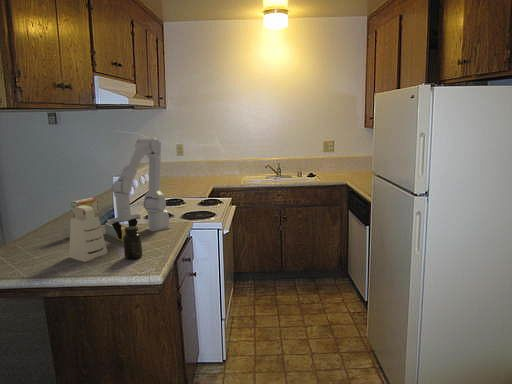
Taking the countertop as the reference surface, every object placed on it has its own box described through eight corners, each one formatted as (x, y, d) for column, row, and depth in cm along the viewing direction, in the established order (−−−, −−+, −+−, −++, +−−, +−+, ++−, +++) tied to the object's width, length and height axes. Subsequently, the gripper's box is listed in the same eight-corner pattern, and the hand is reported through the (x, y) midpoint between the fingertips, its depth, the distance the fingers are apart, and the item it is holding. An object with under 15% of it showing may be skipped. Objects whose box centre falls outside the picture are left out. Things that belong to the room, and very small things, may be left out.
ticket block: (116, 231, 205) (115, 221, 205) (127, 236, 197) (126, 225, 196) (105, 233, 202) (104, 223, 201) (116, 238, 193) (115, 227, 192)
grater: (92, 250, 180) (87, 203, 176) (108, 254, 174) (103, 205, 170) (69, 257, 171) (63, 208, 168) (84, 261, 165) (79, 211, 162)
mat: (124, 230, 209) (124, 229, 209) (150, 241, 190) (150, 240, 190) (98, 235, 200) (98, 235, 200) (122, 247, 181) (122, 247, 181)
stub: (127, 236, 196) (126, 225, 195) (133, 239, 192) (132, 227, 191) (116, 238, 193) (115, 227, 192) (122, 241, 189) (121, 230, 188)
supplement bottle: (121, 257, 169) (118, 227, 167) (137, 253, 174) (134, 224, 172) (130, 261, 164) (127, 230, 162) (146, 256, 169) (143, 227, 167)
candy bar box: (81, 237, 199) (77, 202, 196) (74, 236, 201) (70, 201, 198) (100, 231, 208) (97, 198, 205) (93, 230, 211) (90, 197, 208)
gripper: (134, 203, 197) (137, 232, 199) (103, 208, 187) (106, 239, 190) (141, 205, 192) (144, 235, 194) (110, 211, 182) (113, 242, 185)
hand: (126, 237), depth 192 cm, fingers closed on stub, 5 cm apart
